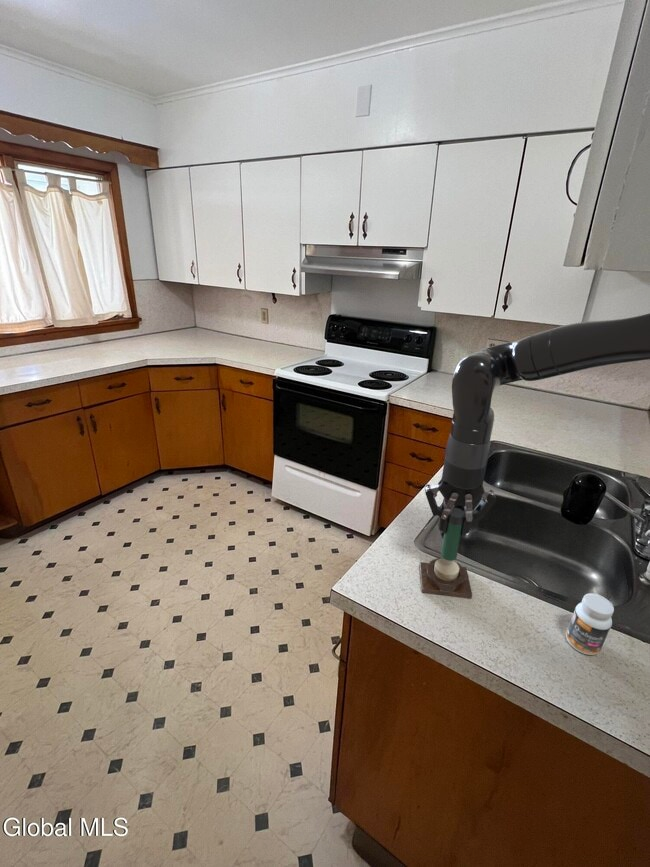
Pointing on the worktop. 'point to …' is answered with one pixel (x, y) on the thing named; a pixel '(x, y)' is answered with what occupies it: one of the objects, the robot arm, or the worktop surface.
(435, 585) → the tealight candle holder
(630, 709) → the worktop surface
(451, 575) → the dot pad
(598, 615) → the pill bottle
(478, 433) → the robot arm
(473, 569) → the worktop surface
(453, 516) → the cylinder
